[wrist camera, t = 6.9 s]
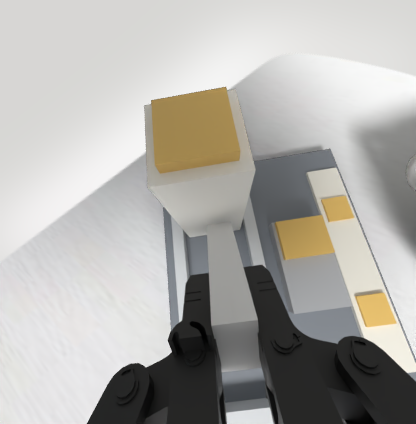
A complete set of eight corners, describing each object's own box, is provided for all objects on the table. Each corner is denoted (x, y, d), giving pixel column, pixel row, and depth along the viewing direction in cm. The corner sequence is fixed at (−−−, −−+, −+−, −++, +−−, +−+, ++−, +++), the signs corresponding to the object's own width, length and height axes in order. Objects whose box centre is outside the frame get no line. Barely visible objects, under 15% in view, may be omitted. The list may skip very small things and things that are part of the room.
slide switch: (189, 237, 16) (140, 179, 7) (184, 191, 17) (138, 93, 8) (240, 229, 16) (258, 160, 7) (231, 184, 17) (236, 75, 8)
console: (182, 426, 13) (170, 464, 10) (165, 183, 19) (154, 166, 16) (417, 398, 13) (470, 431, 10) (323, 156, 19) (340, 135, 16)
